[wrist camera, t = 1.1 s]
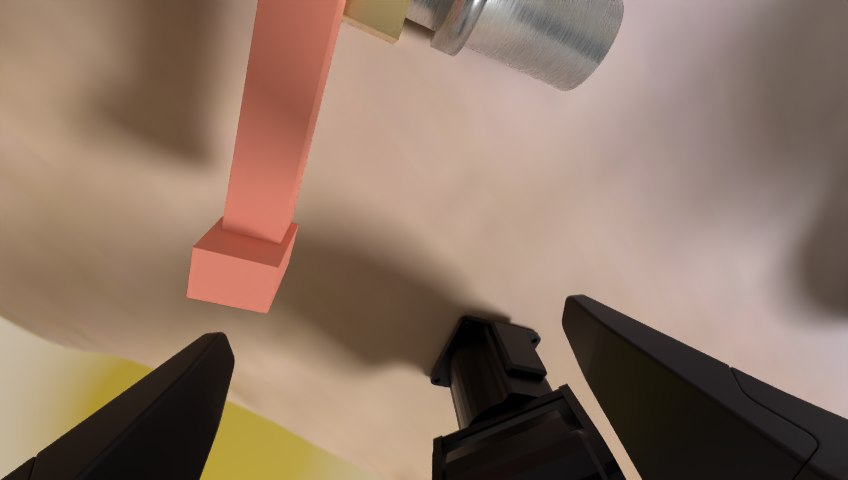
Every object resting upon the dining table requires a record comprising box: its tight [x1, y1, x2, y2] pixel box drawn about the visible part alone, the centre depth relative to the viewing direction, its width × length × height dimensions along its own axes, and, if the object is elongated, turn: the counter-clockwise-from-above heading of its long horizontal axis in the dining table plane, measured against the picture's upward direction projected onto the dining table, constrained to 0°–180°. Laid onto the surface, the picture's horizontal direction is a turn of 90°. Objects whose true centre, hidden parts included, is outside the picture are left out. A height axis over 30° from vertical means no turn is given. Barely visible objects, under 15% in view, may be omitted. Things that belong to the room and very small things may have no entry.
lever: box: [187, 0, 346, 314], centre depth 11 cm, size 15×4×4 cm, turn 159°
